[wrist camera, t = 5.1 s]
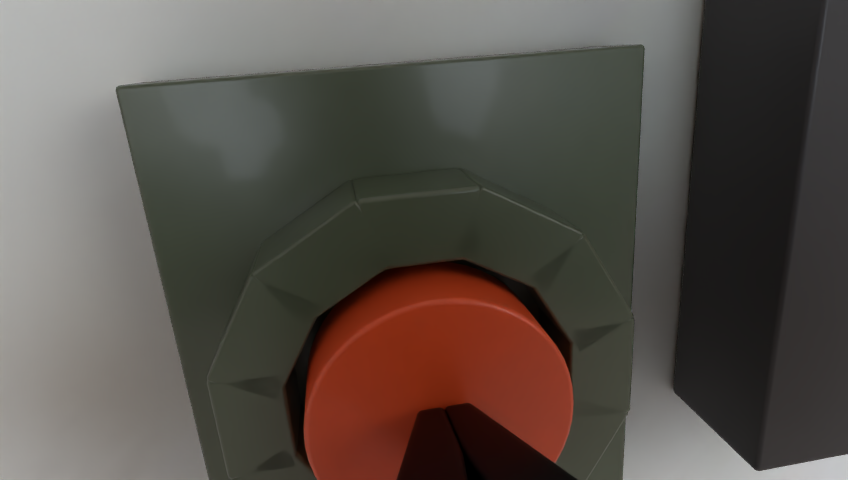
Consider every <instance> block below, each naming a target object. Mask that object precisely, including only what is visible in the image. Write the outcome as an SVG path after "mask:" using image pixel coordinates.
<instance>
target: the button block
mask: <svg viewBox="0 0 848 480" xmlns="http://www.w3.org/2000/svg"><path fill="white" fill-rule="evenodd" d="M644 49H645V48H644V46H643V45H620V46H602V47H589V48H576V49H563V50H551V51H538V52H525V53H512V54H499V55H487V56H474V57H461V58H448V59H436V60H423V61H410V62H397V63H385V64H372V65H359V66H346V67H334V68H321V69H308V70H295V71H283V72H270V73H257V74H244V75H232V76H219V77H206V78H193V79H180V80H168V81H155V82H143V83H135V84H128V85H121V86H118V87H116V94H117V98H118V102H119V106H120V110H121V115H122V119H123V123H124V127H125V131H126V135H127V140H128V144H129V148H130V152H131V156H132V160H133V165H134V169H135V173H136V177H137V181H138V185H139V190H140V194H141V198H142V202H143V206H144V210H145V215H146V219H147V223H148V227H149V231H150V235H151V240H152V244H153V248H154V252H155V256H156V260H157V265H158V269H159V273H160V277H161V281H162V285H163V290H164V294H165V298H166V302H167V306H168V310H169V315H170V319H171V323H172V327H173V331H174V335H175V340H176V344H177V348H178V352H179V356H180V360H181V365H182V369H183V373H184V377H185V381H186V385H187V390H188V394H189V398H190V402H191V406H192V410H193V415H194V419H195V423H196V427H197V431H198V435H199V440H200V444H201V448H202V452H203V456H204V460H205V465H206V469H207V473H208V477H209V480H317V478H316V477H315V475H314V473H313V470H312V468H311V466H310V464H309V461H308V457H307V453H306V449H305V443H304V431H303V430H304V414H305V397H306V381H307V366H308V359H309V355H310V350H311V347H312V344H313V341H314V339H315V336H316V334H317V332H318V330H319V328H320V326H321V325H322V323H323V321H324V320H325V318H326V317H327V315H328V314H329V313H330V311H331V310H332V309H333V308H334V306H335V305H336V304H337V303H338V302H340V301H341V300H342V299H344V298H345V297H347V296H348V295H349V294H351V293H352V292H354V291H355V290H357V289H358V288H359V287H361V286H362V285H364V284H365V283H366V282H368V281H369V280H371V279H372V278H374V277H375V276H376V275H378V274H380V273H382V272H384V271H386V270H389V269H393V268H399V267H407V266H414V265H422V264H430V263H438V262H451V263H457V264H462V265H466V266H469V267H472V268H475V269H478V270H481V271H483V272H485V273H487V274H489V275H491V276H493V277H495V278H496V279H498V280H499V281H501V282H502V283H503V284H505V285H506V286H507V287H508V288H509V289H510V290H512V291H513V292H514V293H515V294H516V295H517V297H518V298H519V299H520V300H521V302H522V303H523V304H524V305H525V307H526V308H527V309H528V310H529V312H530V313H531V314H532V315H533V317H534V318H535V319H536V320H537V322H538V323H539V324H540V325H541V327H542V328H543V329H544V330H545V332H546V333H547V334H548V335H549V337H550V338H551V339H552V340H553V342H554V343H555V344H556V345H557V347H558V349H559V350H560V352H561V354H562V356H563V357H564V359H565V362H566V365H567V367H568V370H569V372H570V377H571V382H572V386H573V403H574V405H573V416H572V422H571V427H570V431H569V435H568V437H567V440H566V443H565V445H564V448H563V450H562V452H561V454H560V456H559V458H558V459H557V461H556V463H555V464H557V465H558V466H560V467H561V468H562V469H564V470H565V471H567V472H568V473H569V474H571V475H572V476H574V477H575V478H576V479H578V480H623V460H624V441H625V421H626V416H627V415H628V411H629V410H630V394H631V375H632V356H633V338H634V318H633V314H632V312H631V303H632V284H633V264H634V245H635V225H636V205H637V186H638V166H639V147H640V127H641V107H642V88H643V68H644Z"/></svg>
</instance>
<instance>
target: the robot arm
mask: <svg viewBox="0 0 848 480" xmlns="http://www.w3.org/2000/svg"><path fill="white" fill-rule="evenodd" d="M396 480H578V479H576V478H575V477H574V476H572V475H571V474H569V473H568V472H567V471H565V470H564V469H562V468H561V467H560V466H558V465H557V464H555V463H554V462H552V461H551V460H550V459H548V458H547V457H545V456H544V455H543V454H541V453H540V452H538V451H537V450H536V449H534V448H533V447H531V446H530V445H529V444H527V443H526V442H524V441H523V440H522V439H520V438H519V437H517V436H516V435H514V434H513V433H512V432H510V431H509V430H507V429H506V428H505V427H503V426H502V425H500V424H499V423H498V422H496V421H495V420H493V419H492V418H491V417H489V416H488V415H486V414H485V413H484V412H482V411H481V410H479V409H478V408H477V407H475V406H474V405H472V404H470V403H463V404H457V405H451V406H447V407H446V408H445V410H444V409H443V408H440V407H439V408H432V409H426V410H421V411H419V412H418V414H417V416H416V419H415V422H414V426H413V429H412V432H411V435H410V438H409V441H408V445H407V448H406V451H405V454H404V457H403V460H402V463H401V467H400V470H399V473H398V476H397V479H396Z"/></svg>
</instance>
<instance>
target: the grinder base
mask: <svg viewBox="0 0 848 480" xmlns="http://www.w3.org/2000/svg"><path fill="white" fill-rule="evenodd" d="M674 392H675V393H676V394H677V395H678V396H679V397H680V398H681V399H682V400H683V401H684V402H685V403H686V404H687V405H688V406H689V407H690V408H691V409H692V410H693V411H694V412H695V413H696V414H697V415H699V416H700V417H701V418H702V419H703V420H704V421H705V422H706V423H707V424H708V425H709V426H710V427H711V428H712V429H713V430H714V431H715V432H716V433H717V434H718V435H719V436H720V437H721V438H722V439H723V440H725V441H726V442H727V443H728V444H729V445H730V446H731V447H732V448H733V449H734V450H735V451H736V452H737V453H738V454H739V455H740V456H741V457H742V458H743V459H744V460H745V461H746V462H747V463H748V464H750V465H751V466H752V467H753V468H754V469H755V470H757V471H762V470H767V469H772V468H777V467H782V466H788V465H793V464H798V463H803V462H808V461H814V460H819V459H824V458H829V457H834V456H840V455H845V454H848V0H705V11H704V23H703V35H702V47H701V60H700V72H699V84H698V96H697V108H696V121H695V133H694V145H693V157H692V170H691V182H690V194H689V206H688V219H687V231H686V243H685V255H684V268H683V280H682V292H681V304H680V316H679V329H678V341H677V353H676V365H675V378H674Z"/></svg>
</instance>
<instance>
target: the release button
mask: <svg viewBox="0 0 848 480" xmlns="http://www.w3.org/2000/svg"><path fill="white" fill-rule="evenodd" d="M463 403H470V404H472V405H474V406H475V407H477V408H478V409H479V410H481V411H482V412H484V413H485V414H486V415H488V416H489V417H491V418H492V419H493V420H495V421H496V422H498V423H499V424H500V425H502V426H503V427H505V428H506V429H507V430H509V431H510V432H512V433H513V434H514V435H516V436H517V437H519V438H520V439H522V440H523V441H524V442H526V443H527V444H529V445H530V446H531V447H533V448H534V449H536V450H537V451H538V452H540V453H541V454H543V455H544V456H545V457H547V458H548V459H550V460H551V461H552V462H554V463H556V461H557V459H558V458H559V456H560V454H561V452H562V450H563V448H564V445H565V443H566V440H567V437H568V435H569V431H570V427H571V422H572V416H573V405H574V403H573V386H572V382H571V377H570V372H569V370H568V367H567V365H566V362H565V359H564V357H563V356H562V354H561V352H560V350H559V349H558V347H557V345H556V344H555V343H554V342H553V340H552V339H551V338H550V337H549V335H548V334H547V333H546V332H545V330H544V329H543V328H542V327H541V325H540V324H539V323H538V322H537V320H536V319H535V318H534V317H533V315H532V314H531V313H530V312H529V310H528V309H527V308H526V307H525V305H524V304H523V303H522V302H521V300H520V299H519V298H518V297H517V295H516V294H515V293H514V292H513V291H512V290H510V289H509V288H508V287H507V286H506V285H505V284H503V283H502V282H501V281H499V280H498V279H496V278H495V277H493V276H491V275H489V274H487V273H485V272H483V271H481V270H478V269H475V268H472V267H469V266H466V265H462V264H457V263H451V262H438V263H430V264H422V265H414V266H407V267H399V268H393V269H389V270H386V271H384V272H382V273H380V274H378V275H376V276H375V277H374V278H372V279H371V280H369V281H368V282H366V283H365V284H364V285H362V286H361V287H359V288H358V289H357V290H355V291H354V292H352V293H351V294H349V295H348V296H347V297H345V298H344V299H342V300H341V301H340V302H338V303H337V304H336V305H335V306H334V308H333V309H332V310H331V311H330V313H329V314H328V315H327V317H326V318H325V320H324V321H323V323H322V325H321V326H320V328H319V330H318V332H317V334H316V336H315V339H314V341H313V344H312V347H311V350H310V355H309V359H308V366H307V381H306V397H305V414H304V430H303V431H304V443H305V449H306V453H307V457H308V461H309V464H310V466H311V468H312V470H313V473H314V475H315V477H316V478H317V480H396V479H397V476H398V473H399V470H400V467H401V463H402V460H403V457H404V454H405V451H406V448H407V445H408V441H409V438H410V435H411V432H412V429H413V426H414V422H415V419H416V416H417V414H418V412H419V411H421V410H426V409H432V408H439V407H440V408H443V409H444V410H445V408H446V407H447V406H451V405H457V404H463Z"/></svg>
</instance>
